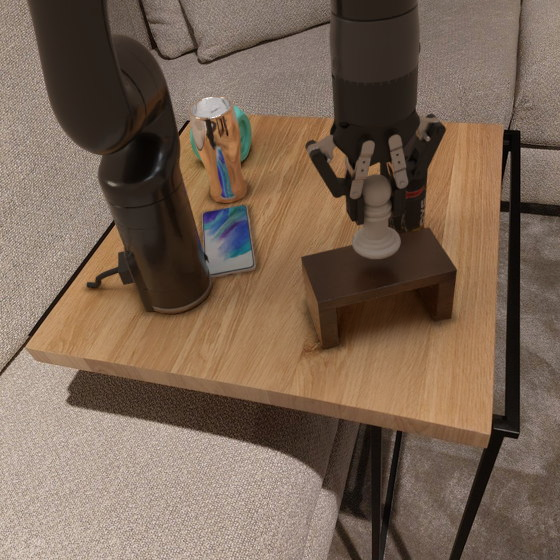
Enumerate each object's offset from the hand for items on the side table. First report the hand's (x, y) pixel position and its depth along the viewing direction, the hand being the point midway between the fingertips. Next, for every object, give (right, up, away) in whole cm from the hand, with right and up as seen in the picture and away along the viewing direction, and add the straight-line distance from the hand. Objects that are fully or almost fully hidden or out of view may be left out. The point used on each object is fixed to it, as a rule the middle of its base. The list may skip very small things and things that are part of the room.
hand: (375, 215), depth 62 cm
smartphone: (-18, -1, +24) cm, 30 cm away
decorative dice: (-20, +15, +40) cm, 47 cm away
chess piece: (+1, -3, +3) cm, 4 cm away
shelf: (+2, -11, +10) cm, 15 cm away
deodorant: (+7, -1, +20) cm, 21 cm away
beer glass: (-18, +7, +32) cm, 38 cm away
